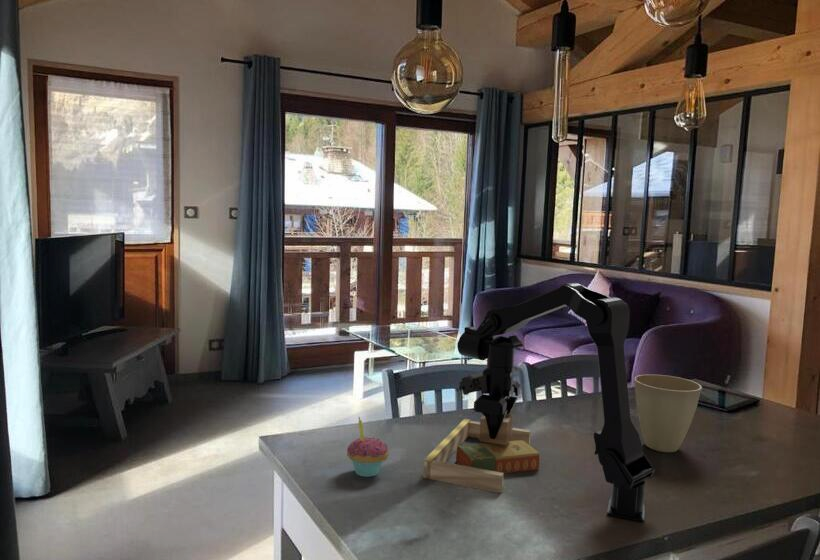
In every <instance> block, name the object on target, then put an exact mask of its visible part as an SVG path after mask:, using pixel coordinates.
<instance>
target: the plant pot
mask: <svg viewBox="0 0 820 560" xmlns="http://www.w3.org/2000/svg"><path fill="white" fill-rule="evenodd" d="M702 389H703V386H702V385H701V384H699V383H698V382H696V381H694V380H691V379H687V378H682V377H680V376H679V377H678V376H673V375H664V374H651V373H650V374H640V375H636V376H635V377H634V390H635V391H634V392H635V402H636V403H635V404H636V409H637V416H638V420H639V426H640V430H641V434H642V437H643V440H644V444H645V446H646V447H647V448H648V449H652V450H655V451H657V452H662V453H674V452H677V451H678V450H679V448H680V447H681V445H682V444H683V441H684V439H685V437H686V435H687V433H688V432H689V428H690V427H691V424H692V422H693V418H694V416H695V413H696V410H697V407H698V403H699V399H700V395H701V391H702Z"/></svg>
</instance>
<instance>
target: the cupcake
mask: <svg viewBox="0 0 820 560" xmlns="http://www.w3.org/2000/svg"><path fill="white" fill-rule="evenodd" d="M357 421H358V429H359V435H360V438H358V439H357V438H356V439H355V440H352V441H351V443H350V444H349V445H348V446H347V451H346V456H347V457H348V458H349V460H351V462H352V465H353V468H354V472H355V474H356V475H357V476H360V477H366V478H370V477H374V476H376V475H378V474H379V471H380V468H381V466H382V463H383V462H384V461H386V460H387V459H388V457H389V449H388V446H387V444H386V443H385V442H384V441H382V440H381V439H379V438H377V437H368V436H366V437H365V435H364V430H363V422H362V419H361V418H360V416H358V420H357Z"/></svg>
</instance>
